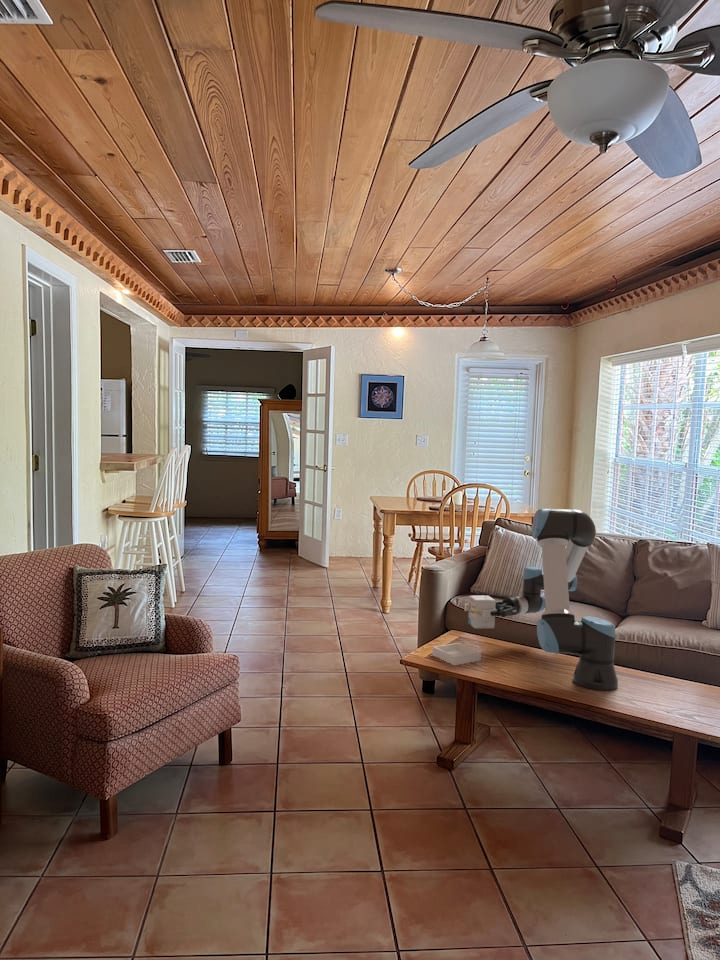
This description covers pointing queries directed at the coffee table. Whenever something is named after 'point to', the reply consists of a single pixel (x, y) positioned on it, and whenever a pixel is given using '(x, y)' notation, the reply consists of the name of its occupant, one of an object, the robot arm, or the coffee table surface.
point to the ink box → (481, 611)
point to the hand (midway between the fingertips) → (474, 610)
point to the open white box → (456, 653)
